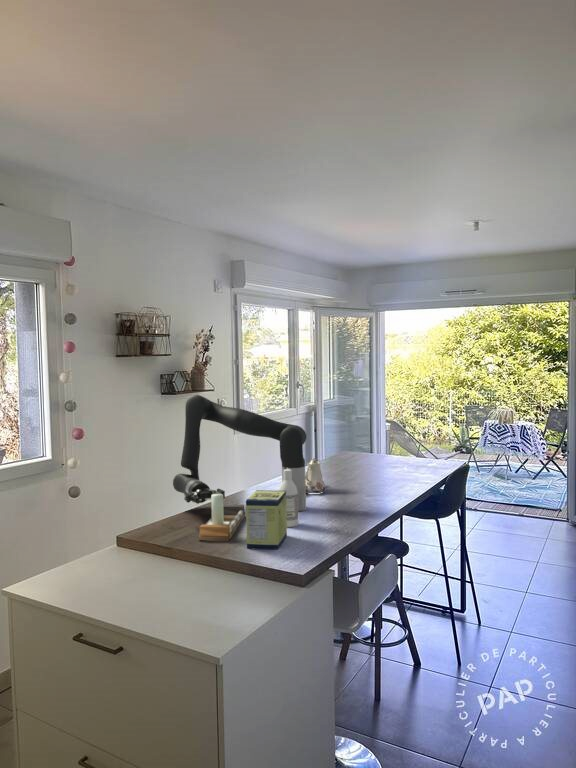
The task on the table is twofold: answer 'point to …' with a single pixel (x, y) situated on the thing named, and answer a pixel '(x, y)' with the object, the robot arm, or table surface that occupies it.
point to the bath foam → (290, 498)
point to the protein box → (266, 519)
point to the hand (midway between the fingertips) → (210, 499)
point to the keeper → (217, 510)
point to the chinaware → (314, 477)
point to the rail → (223, 538)
